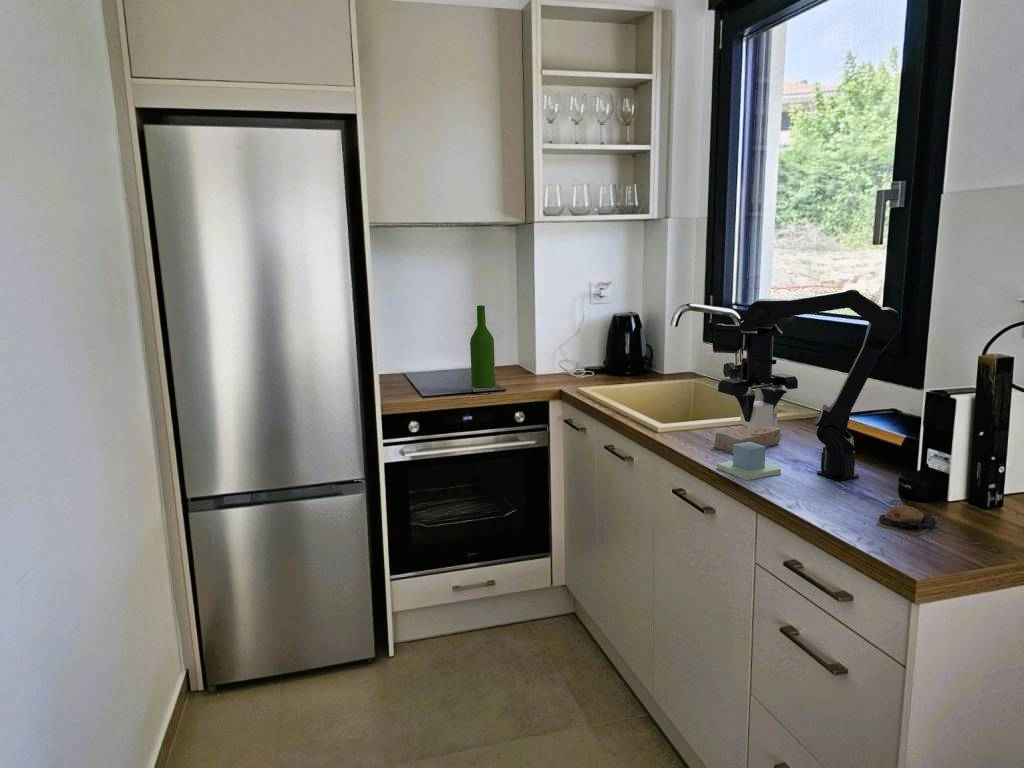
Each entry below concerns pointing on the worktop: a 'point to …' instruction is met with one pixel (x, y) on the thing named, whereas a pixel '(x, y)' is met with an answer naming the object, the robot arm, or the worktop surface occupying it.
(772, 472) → the green block
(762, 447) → the blue block
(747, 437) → the brick
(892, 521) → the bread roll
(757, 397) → the energy drink can
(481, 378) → the wine bottle
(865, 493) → the worktop surface
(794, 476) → the worktop surface
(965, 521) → the worktop surface
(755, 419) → the cream block
